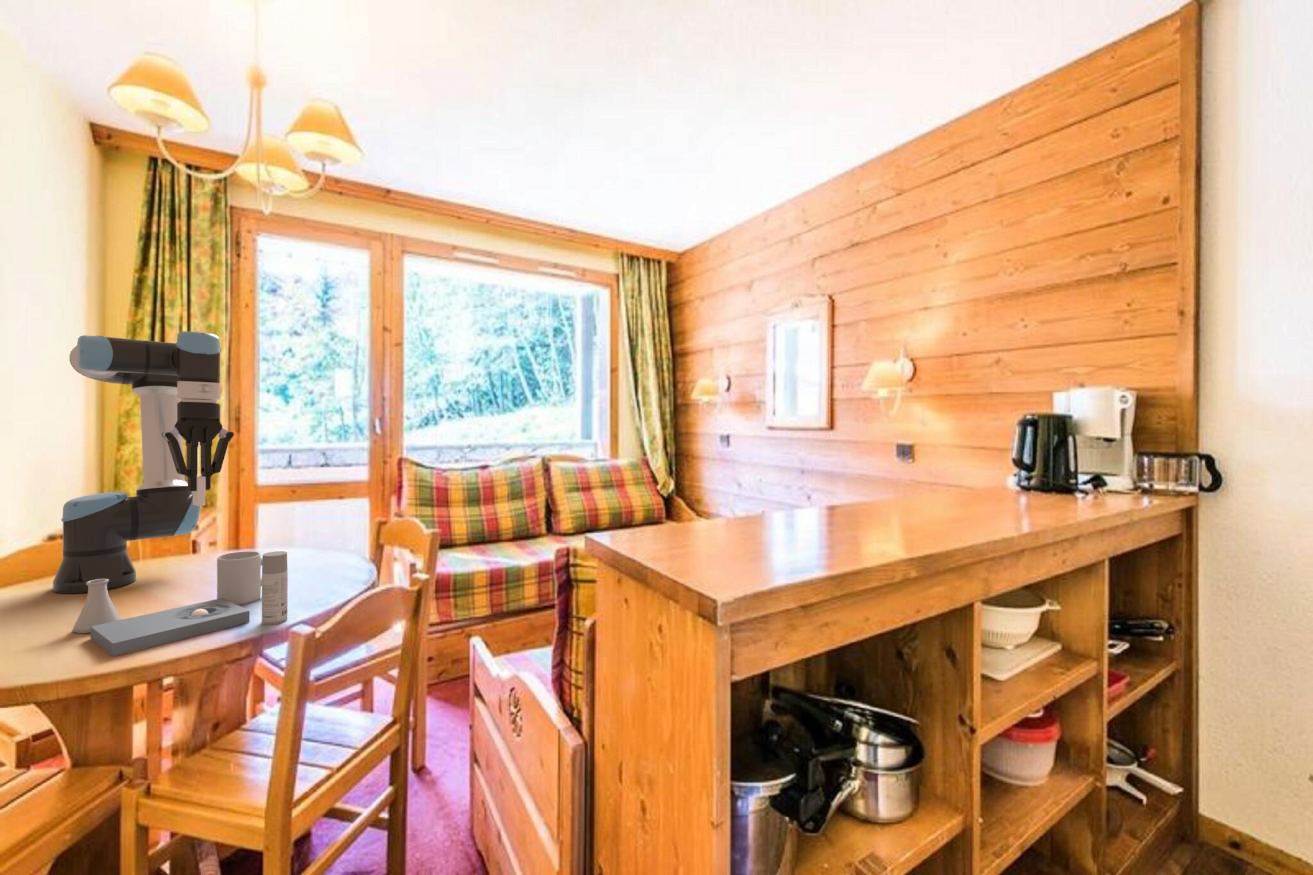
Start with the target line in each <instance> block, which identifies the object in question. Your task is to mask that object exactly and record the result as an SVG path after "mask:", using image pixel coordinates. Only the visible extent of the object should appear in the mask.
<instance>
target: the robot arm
mask: <svg viewBox="0 0 1313 875" xmlns="http://www.w3.org/2000/svg"><path fill="white" fill-rule="evenodd" d="M176 338H177V339H176V343H175V342H166V341H165V342H164V341H155V340H144V339H133V338H132V339H130V338H122V337H121V338H120V337H111V336H110V337H109V336H104V335H87V334H86V335H80V336H79V337H78V338H77V342H76V343H77V344H76V346H74V347H73V348H72V350H71V351H70V353H69V363H70V365H71V366H72V369H73V370H74V371H75V372H77V373H78V374H80V375H82V376H84V377H87V378H89V379H92V380H95V381H100V382H104V383H109V384H118V385H120V384H121V385H131V390H132V393H134V394H136V395H137V396H138V397H139V400H140V401H139V402H140V406H139V407H140V423H141V449H142V452H141V453H142V454H141V455H142V472H143V473H142V474H143V476H142V477H143V483H142V484H141V485H140V486H139V487H138V488H136V490H135V491H136V492H135V493H136V494H135V496H128V494H127V492H125V491H111V492H102V493H101V492H100V493H94V494H89V495H83V496H79V497H74V498H72V499H69V500H67V501H66V502H65V503H64V505H63V506H62V517H61V519H60V520H61V522H62V560H61V561H60V565H59V567H58V570H57V572H56V574H55V576H54V579H53V581H52V591H53V592H54V593H58V594H82V593H88V585H86V582H88V581H91V580H96V579H109V582H107V590H110V589H115V588H119V587H124V586H127V585H128V584H129V585H130V584H132V583H133V582H135V581H136V580H137V571H136V568H135V567H134V564H133V562H132V559H131V558H130V556H129V553H128V551H127V550H128V544H127V543H128V542H129V541H131V542H132V541H139V540H141V541H142V540H148V539H149V540H150V539H157V538H165V537H166V538H167V537H171V538H173V537H175V536H181V535H188V534H190V533H192V532H193V531H194V530H195V529H196V527H197V525H198V522H199V519H200V513H201V507H202V506H203V507H204V506H206V498H207V496H206V493H207V491H210V489H211V479H212V478H211V477H212V476H213V475H215V474H219V473H220V472H221V471H222V467H223V464H224V461H225V460H224V459H225V456H226V453H227V450H228V446H229V443H230V441H231V440H232V439H233V437H234V435H235V434H234V432H232V431H228V430H226V429H225V428H223V424H222V423H221V404H220V403H219V402H217V401H220V400H221V382H220V381H221V378H220V376H221V372H220V371H221V369H220V368H221V351H222V349H221V347H220V346H221V345H220V344H221V343H220V337H219V336H217V335H216V334H214V333H208V332H202V331H200V332H199V331H188V330H187V331H181V332H178V333H177V337H176ZM217 436H218V438H219V440H218V441H217V445H216V448H215V451H214V455H213V458H212V447H213V440H214V439H215V438H216V437H217ZM183 439H184V441H185V446H186V462H185V459H184V457H185V456H184V441H183ZM199 446H200V474H201V475H198V474H199V473H198V469H199V468H198V454H199V453H198V449H199V448H198V447H199ZM185 477H187V478H186V479H187V481H186V479H185Z"/></svg>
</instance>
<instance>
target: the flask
mask: <svg viewBox="0 0 1313 875" xmlns="http://www.w3.org/2000/svg"><path fill="white" fill-rule="evenodd" d="M107 582H109V579H96V580H91V581H88V582H86V585H88V592H87V595H86V599H85V602H84V604H83V607H82V609H81V611H80V613H79V615H78V618H77V620H76V622H75V624H74V626H73V627H72V629H71V632H72V633H77V634H91V626H95V625H100V624H104V623H109V622H114V621H118V620H123V618H122V617H121V616H120V614H119V612H118V610H117V609H116V606H115V605H114V603H113V601H112V599H111V598H110V595H109V591H108V589H107Z"/></svg>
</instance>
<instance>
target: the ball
mask: <svg viewBox="0 0 1313 875" xmlns="http://www.w3.org/2000/svg"><path fill="white" fill-rule="evenodd" d="M204 614H209V613H208V611H207V610H205V609H197V610H195V611H194V612H192V614H191V615H204Z"/></svg>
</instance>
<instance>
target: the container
mask: <svg viewBox="0 0 1313 875" xmlns="http://www.w3.org/2000/svg"><path fill="white" fill-rule="evenodd" d="M262 558H263V560H262V566H261V579H262V586H261V623H262V624H263V625H266V626H267V625H268V626H269V625H272V626H273V625H278V624H282V623H284V622H286V621H287V620H288V594H289V593H288V575H289V574H288V552H287V551H282V550H278V551H277V550H275V551H270V552H265V553H263V554H262Z"/></svg>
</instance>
